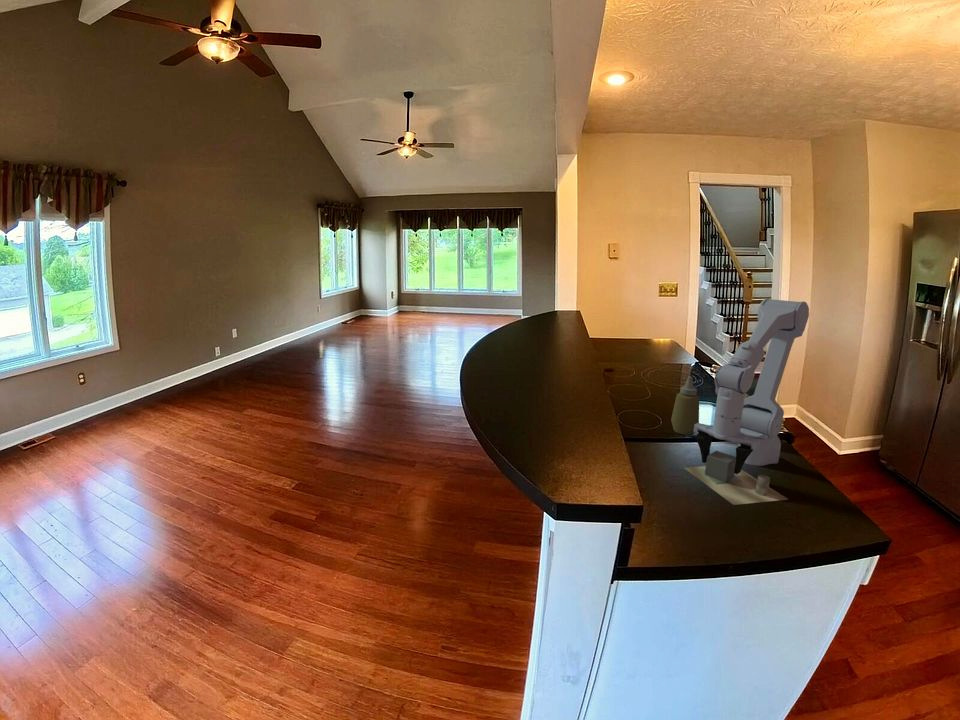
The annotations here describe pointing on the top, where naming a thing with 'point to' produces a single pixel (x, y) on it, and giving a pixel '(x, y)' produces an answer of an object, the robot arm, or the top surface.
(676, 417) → the squeeze bottle
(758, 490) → the board
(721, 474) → the grey matte cube
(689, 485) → the top surface
